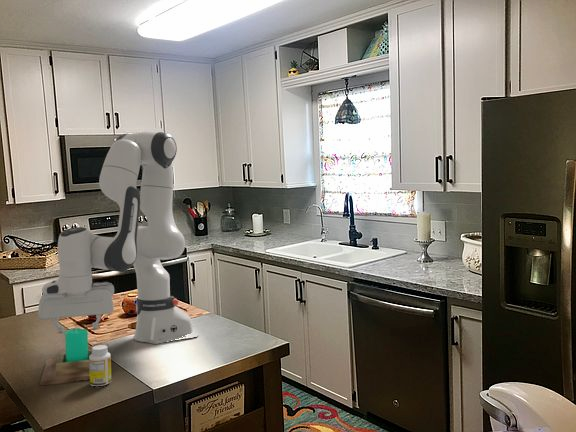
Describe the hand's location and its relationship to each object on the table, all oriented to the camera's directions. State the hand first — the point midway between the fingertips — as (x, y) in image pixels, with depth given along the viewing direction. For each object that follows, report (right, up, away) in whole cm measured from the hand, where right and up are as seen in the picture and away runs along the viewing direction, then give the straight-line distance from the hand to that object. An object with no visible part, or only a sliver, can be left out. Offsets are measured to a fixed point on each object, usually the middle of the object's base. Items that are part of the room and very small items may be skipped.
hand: (78, 330), depth 151 cm
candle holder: (0, -12, 0) cm, 12 cm away
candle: (0, -11, 0) cm, 11 cm away
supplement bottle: (+10, -12, -10) cm, 19 cm away
